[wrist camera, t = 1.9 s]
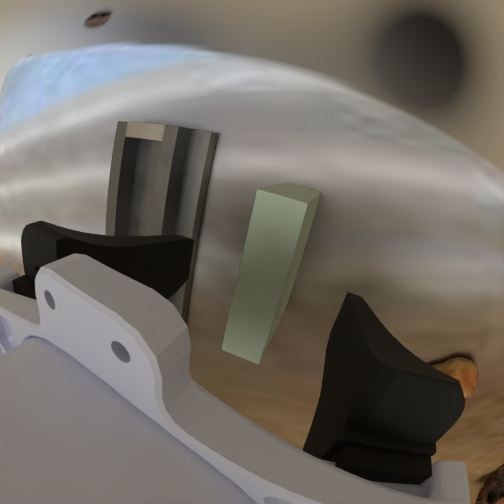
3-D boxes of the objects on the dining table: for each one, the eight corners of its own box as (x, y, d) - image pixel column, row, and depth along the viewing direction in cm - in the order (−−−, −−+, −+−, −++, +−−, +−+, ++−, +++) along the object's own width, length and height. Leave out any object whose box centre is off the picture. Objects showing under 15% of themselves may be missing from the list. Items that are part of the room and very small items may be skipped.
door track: (181, 369, 23) (167, 386, 21) (116, 333, 25) (100, 345, 23) (218, 133, 16) (199, 129, 14) (128, 122, 18) (105, 120, 16)
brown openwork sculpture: (540, 444, 12) (538, 488, 7) (499, 459, 19) (498, 498, 14) (498, 472, 13) (493, 524, 7) (453, 481, 20) (449, 525, 14)
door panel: (285, 309, 18) (258, 364, 13) (257, 299, 19) (221, 349, 13) (321, 192, 16) (307, 203, 10) (288, 182, 16) (257, 189, 11)
